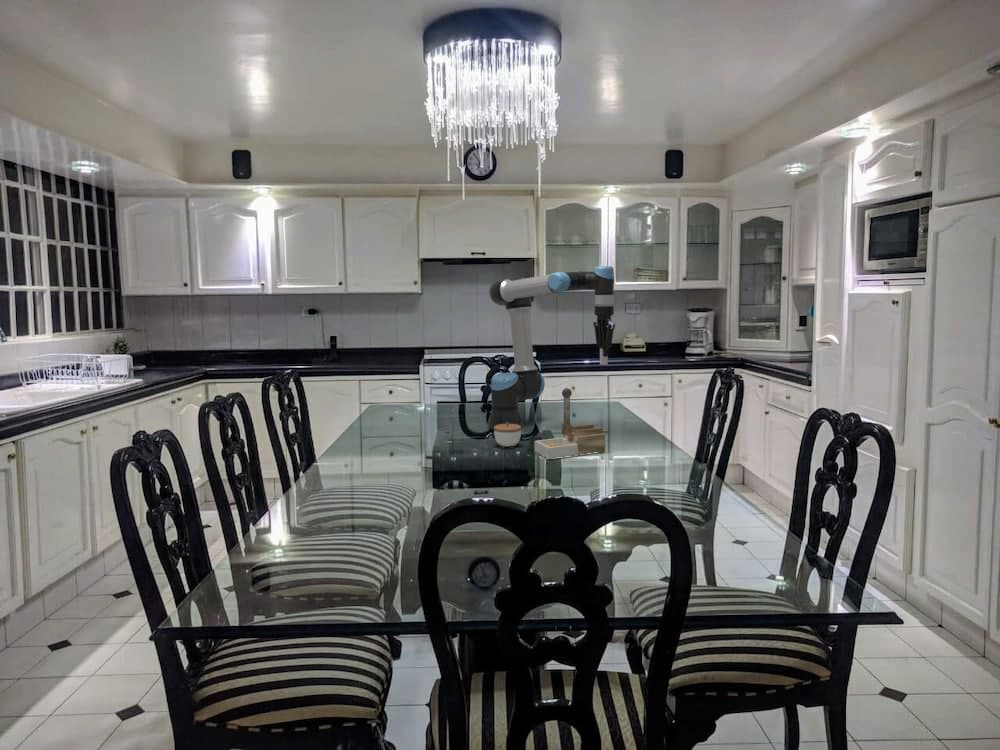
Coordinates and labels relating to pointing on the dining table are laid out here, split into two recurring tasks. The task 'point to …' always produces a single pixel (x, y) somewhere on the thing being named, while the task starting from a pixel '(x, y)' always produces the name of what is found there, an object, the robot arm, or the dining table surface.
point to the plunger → (566, 413)
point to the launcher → (587, 438)
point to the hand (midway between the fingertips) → (603, 364)
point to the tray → (556, 448)
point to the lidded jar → (507, 434)
